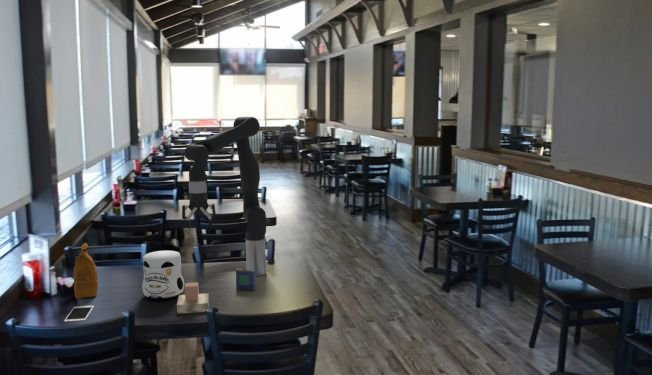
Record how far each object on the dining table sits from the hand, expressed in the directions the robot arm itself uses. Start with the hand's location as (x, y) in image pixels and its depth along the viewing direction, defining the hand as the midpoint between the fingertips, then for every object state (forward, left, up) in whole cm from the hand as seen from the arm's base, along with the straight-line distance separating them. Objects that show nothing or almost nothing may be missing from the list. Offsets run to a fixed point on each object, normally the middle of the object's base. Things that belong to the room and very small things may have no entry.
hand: (199, 227), depth 252 cm
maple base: (+3, +21, -29) cm, 36 cm away
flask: (-19, +3, -28) cm, 34 cm away
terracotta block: (+3, +21, -25) cm, 32 cm away
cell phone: (+47, +19, -29) cm, 58 cm away
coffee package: (+49, -4, -28) cm, 57 cm away
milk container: (+16, +4, -28) cm, 33 cm away
